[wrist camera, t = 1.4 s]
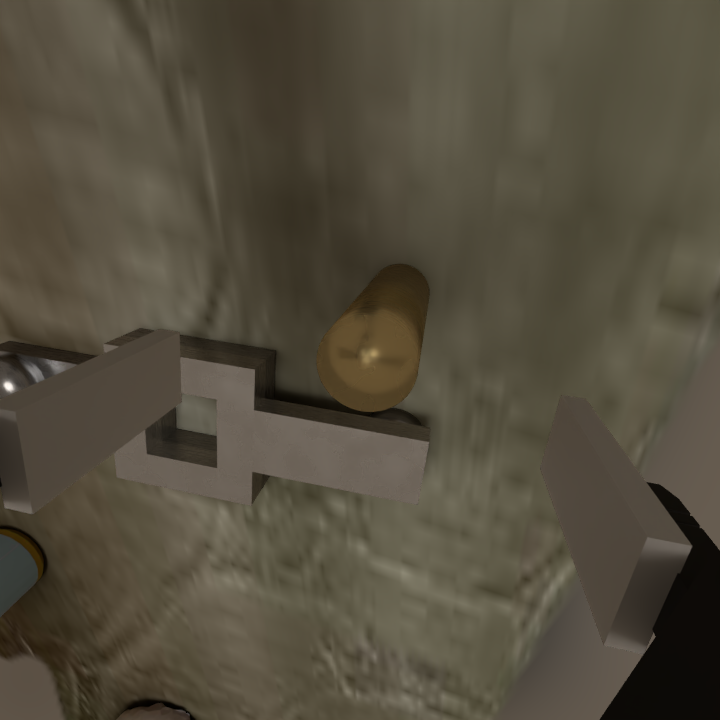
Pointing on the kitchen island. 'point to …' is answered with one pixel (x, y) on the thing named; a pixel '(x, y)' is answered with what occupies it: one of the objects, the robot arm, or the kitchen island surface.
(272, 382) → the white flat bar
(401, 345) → the pin
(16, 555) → the bottle
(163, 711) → the sculpture
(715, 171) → the kitchen island surface
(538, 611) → the kitchen island surface
